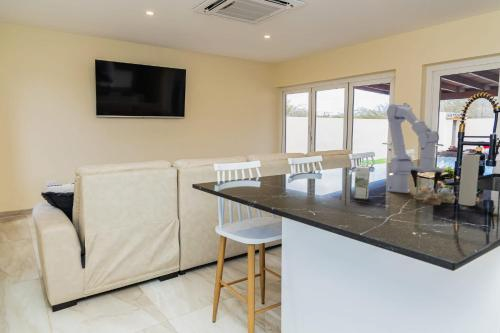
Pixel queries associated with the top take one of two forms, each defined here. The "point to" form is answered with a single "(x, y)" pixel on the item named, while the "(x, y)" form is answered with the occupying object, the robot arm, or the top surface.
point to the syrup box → (361, 182)
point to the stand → (432, 200)
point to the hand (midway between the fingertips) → (424, 187)
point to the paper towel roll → (469, 179)
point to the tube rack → (435, 195)
